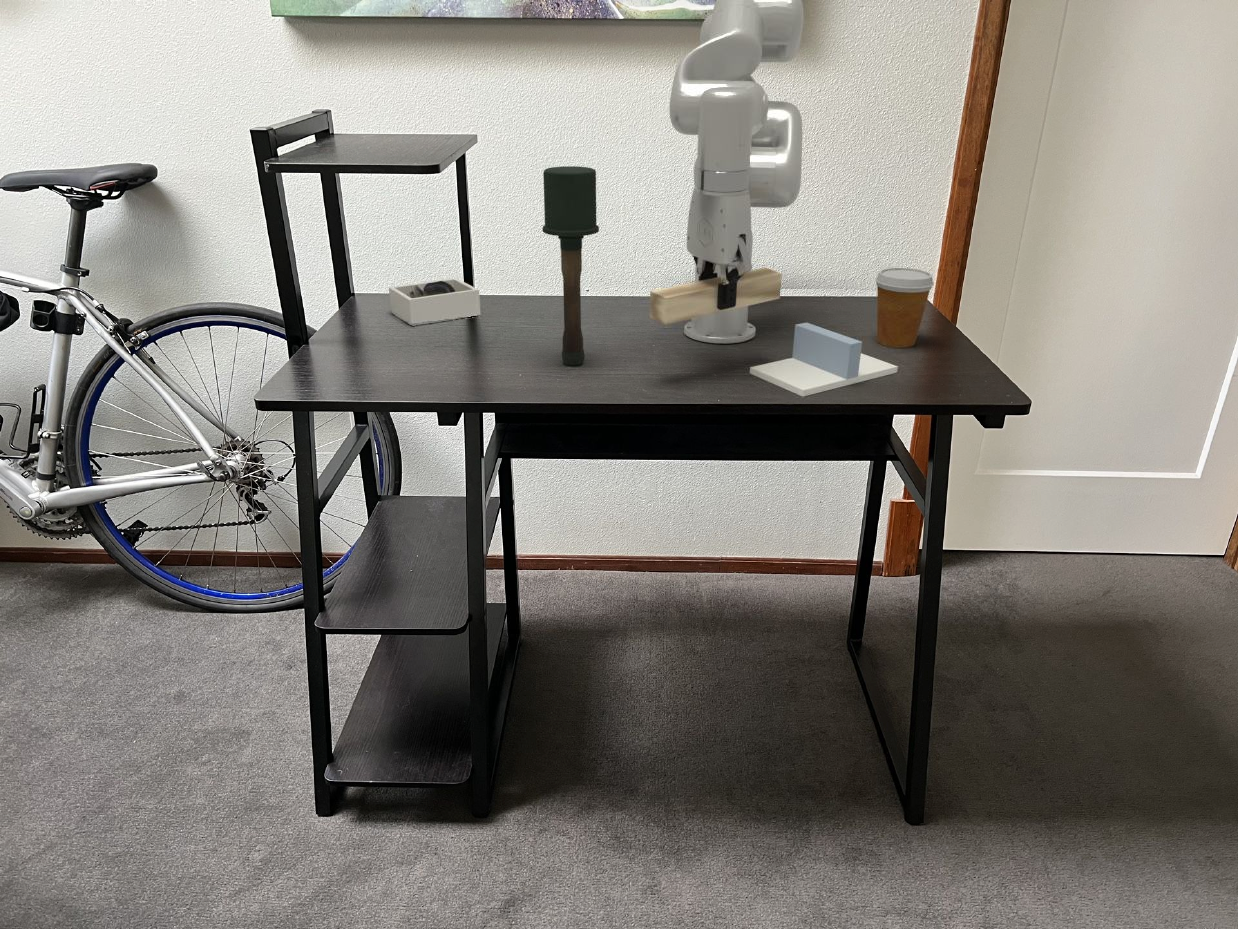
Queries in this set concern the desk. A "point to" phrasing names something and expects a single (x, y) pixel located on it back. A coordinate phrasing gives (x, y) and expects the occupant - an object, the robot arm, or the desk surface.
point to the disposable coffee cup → (901, 304)
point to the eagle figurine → (433, 289)
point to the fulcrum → (822, 363)
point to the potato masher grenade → (570, 241)
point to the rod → (712, 296)
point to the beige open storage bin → (435, 302)
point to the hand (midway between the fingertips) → (716, 302)
